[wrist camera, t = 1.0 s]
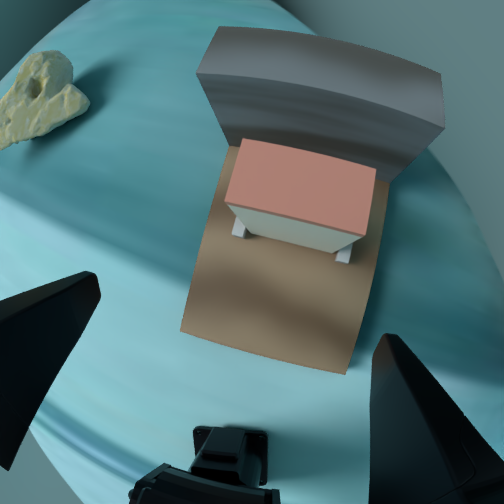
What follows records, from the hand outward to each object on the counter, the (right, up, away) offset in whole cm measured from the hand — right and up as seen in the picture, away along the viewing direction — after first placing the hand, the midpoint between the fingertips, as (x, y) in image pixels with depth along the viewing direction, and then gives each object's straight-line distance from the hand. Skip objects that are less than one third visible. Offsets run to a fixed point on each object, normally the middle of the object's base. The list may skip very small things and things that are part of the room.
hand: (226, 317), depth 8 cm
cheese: (-26, +17, +19) cm, 36 cm away
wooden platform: (+4, +3, +14) cm, 15 cm away
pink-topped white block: (+4, +4, +13) cm, 14 cm away
